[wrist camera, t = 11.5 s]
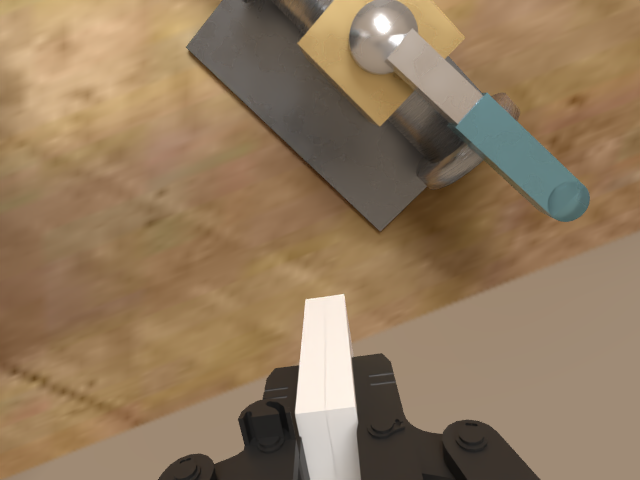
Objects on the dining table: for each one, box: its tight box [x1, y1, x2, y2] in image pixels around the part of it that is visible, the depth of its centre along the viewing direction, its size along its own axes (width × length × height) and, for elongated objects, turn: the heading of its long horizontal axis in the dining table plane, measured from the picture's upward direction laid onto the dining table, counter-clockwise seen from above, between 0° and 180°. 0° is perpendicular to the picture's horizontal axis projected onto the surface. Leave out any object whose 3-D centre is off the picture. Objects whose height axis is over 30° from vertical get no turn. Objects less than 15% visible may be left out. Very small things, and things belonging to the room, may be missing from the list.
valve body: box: [186, 0, 520, 231], centre depth 35 cm, size 24×15×10 cm, turn 47°
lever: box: [348, 0, 590, 222], centre depth 29 cm, size 4×20×4 cm, turn 50°
